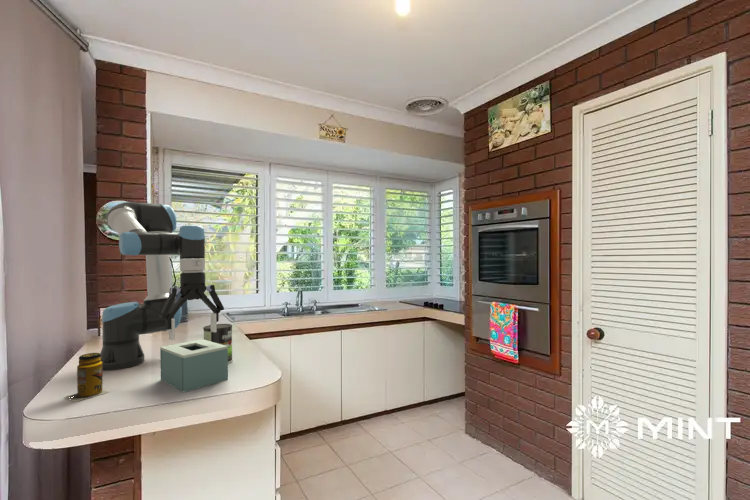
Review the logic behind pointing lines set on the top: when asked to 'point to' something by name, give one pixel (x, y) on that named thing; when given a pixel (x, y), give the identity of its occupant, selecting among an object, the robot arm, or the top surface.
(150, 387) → the top surface
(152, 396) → the top surface
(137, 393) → the top surface
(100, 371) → the condiment
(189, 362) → the teal box with hole
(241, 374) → the top surface
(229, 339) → the coffee can
